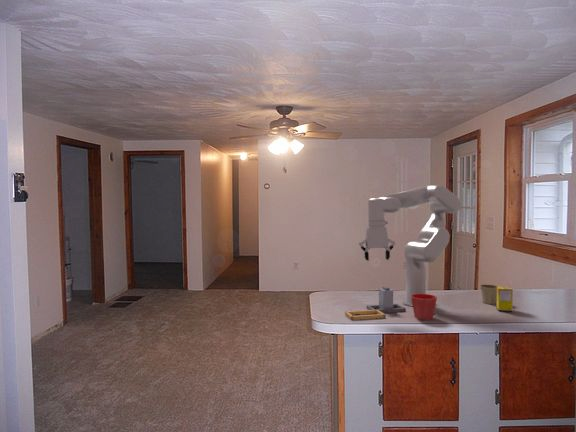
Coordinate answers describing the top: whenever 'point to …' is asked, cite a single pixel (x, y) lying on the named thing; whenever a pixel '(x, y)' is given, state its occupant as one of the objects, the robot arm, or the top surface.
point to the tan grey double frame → (372, 310)
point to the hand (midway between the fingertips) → (377, 259)
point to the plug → (385, 298)
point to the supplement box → (504, 299)
